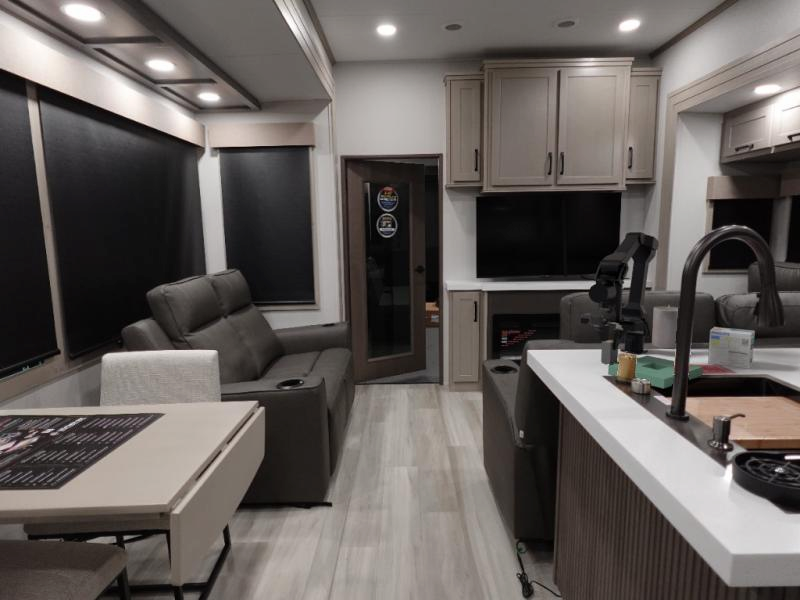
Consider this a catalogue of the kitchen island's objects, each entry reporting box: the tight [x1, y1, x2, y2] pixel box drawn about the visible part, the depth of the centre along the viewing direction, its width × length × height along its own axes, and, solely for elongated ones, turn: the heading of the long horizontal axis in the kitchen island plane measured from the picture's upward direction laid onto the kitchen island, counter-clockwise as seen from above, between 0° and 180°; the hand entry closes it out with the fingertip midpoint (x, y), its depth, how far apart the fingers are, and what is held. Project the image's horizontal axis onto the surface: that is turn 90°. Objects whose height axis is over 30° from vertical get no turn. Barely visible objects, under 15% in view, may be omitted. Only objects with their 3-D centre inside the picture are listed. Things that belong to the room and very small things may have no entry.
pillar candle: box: [651, 304, 679, 350], centre depth 169 cm, size 10×10×15 cm
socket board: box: [607, 355, 704, 389], centre depth 136 cm, size 20×16×2 cm
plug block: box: [600, 339, 619, 366], centre depth 148 cm, size 4×3×7 cm
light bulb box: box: [707, 326, 756, 370], centre depth 145 cm, size 11×7×11 cm, turn 47°
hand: (609, 349), depth 148 cm, fingers closed on plug block, 3 cm apart
